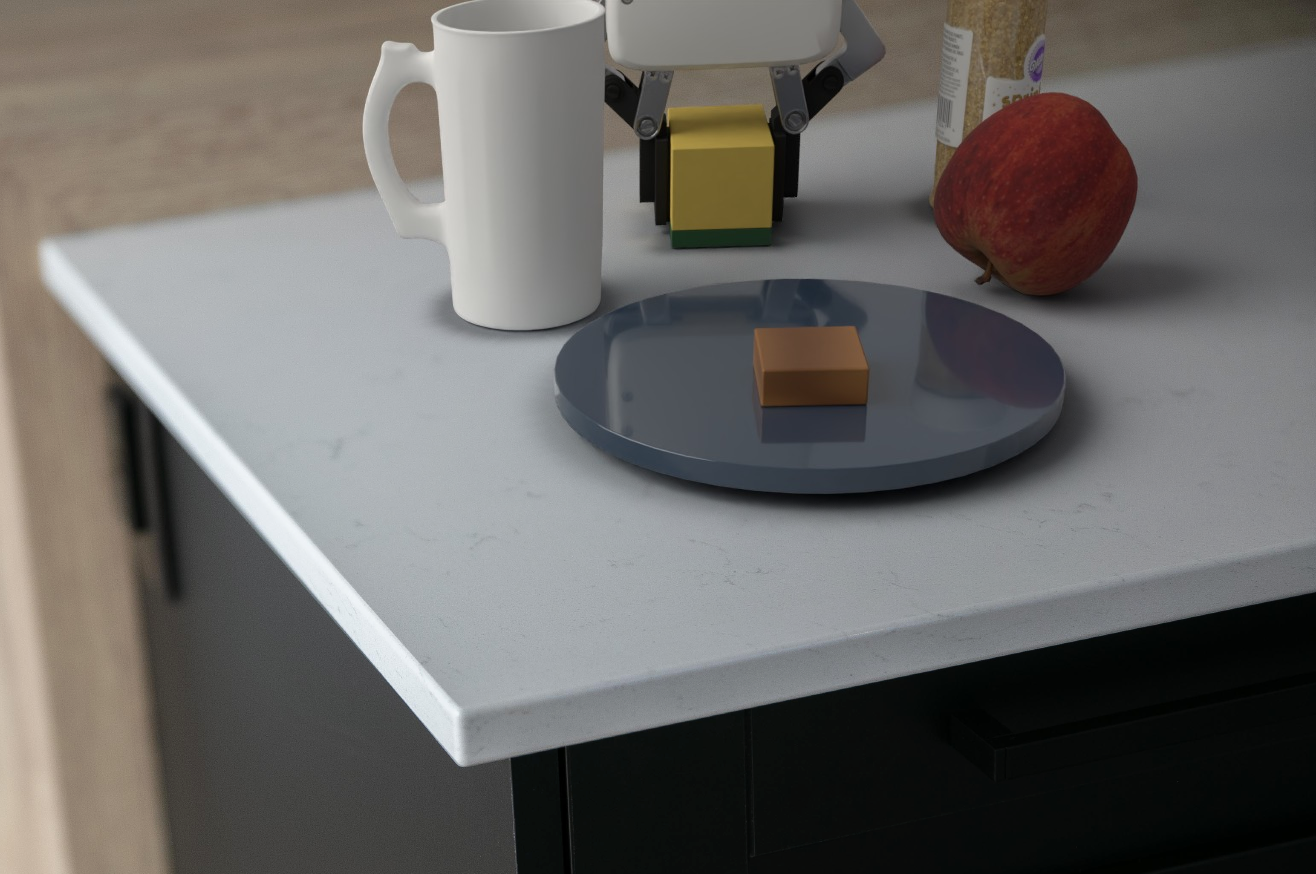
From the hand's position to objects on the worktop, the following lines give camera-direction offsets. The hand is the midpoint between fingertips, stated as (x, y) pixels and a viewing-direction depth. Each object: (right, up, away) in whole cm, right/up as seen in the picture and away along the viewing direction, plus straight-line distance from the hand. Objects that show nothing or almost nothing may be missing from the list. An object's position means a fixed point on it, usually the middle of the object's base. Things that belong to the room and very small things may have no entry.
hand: (717, 210), depth 86 cm
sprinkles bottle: (+12, 0, 0) cm, 12 cm away
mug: (-11, -6, -7) cm, 14 cm away
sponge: (0, 0, 0) cm, 1 cm away
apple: (+11, -5, -10) cm, 16 cm away
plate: (0, -11, -18) cm, 21 cm away
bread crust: (0, -11, -21) cm, 23 cm away
